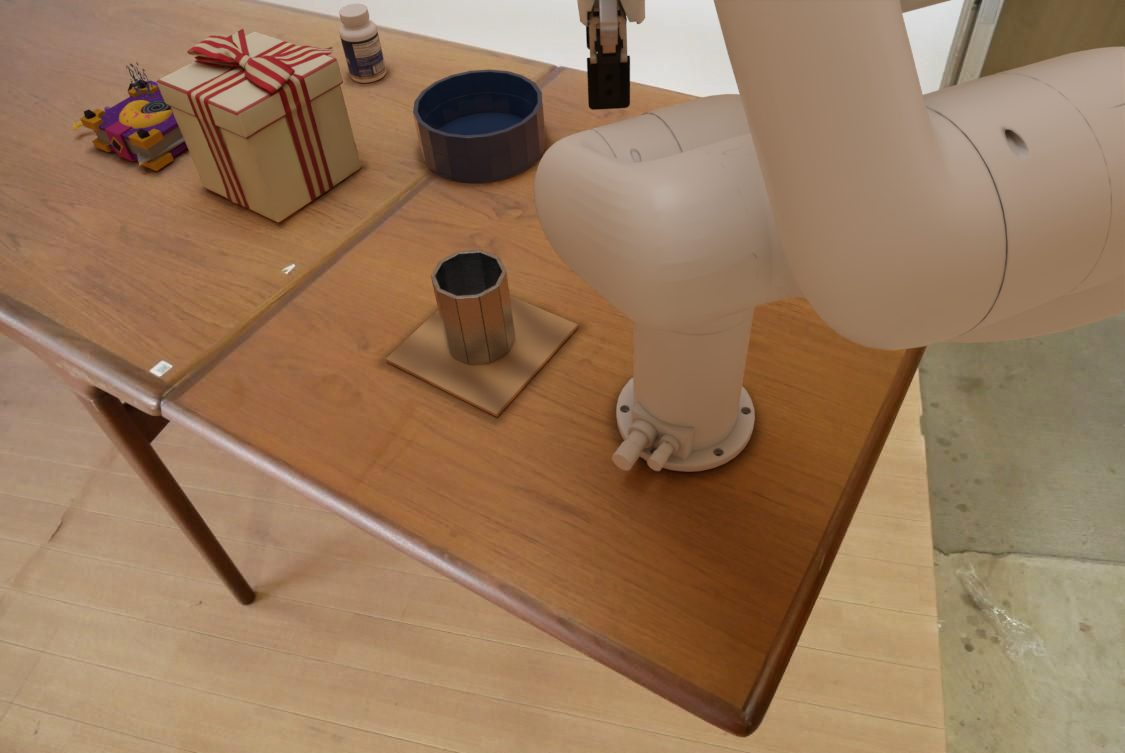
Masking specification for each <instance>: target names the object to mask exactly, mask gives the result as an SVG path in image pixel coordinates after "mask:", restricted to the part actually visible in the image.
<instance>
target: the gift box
mask: <svg viewBox="0 0 1125 753" xmlns="http://www.w3.org/2000/svg"><path fill="white" fill-rule="evenodd" d="M333 52H334V49H333V46H329V47H327V48H322V47H321V48H320V47H316V46H311V45H302V46H301V45H297V44H294V43H292V42H289V41H285V40H283V39H279V38H276V37H273V36H270V35H267V34H264V33H262V32H258V31H252V32H250V33H248V34H245V29H244V28H240V29H239V30H238V31H236V32H235V33H233V34H231V35H229V36H227V37H225V36H221V35H208V36H207V37H205V38H204V39H203V40H201V41H200V42H198V43H197V44H195V45H194V46H192V47H191V48H189V49H188V50H187V51H186V53H187V54H188V55H190V56H194V57H193V58H194V59H195V60H194V61H192V62H190V63H188V64H186V65H184V66H182V67H180V68H178V69H176V70H175V71H172V72H171V73H168V74H167V75H164V76H163V77H160V78H158V79H157V80H156V82H157V84H158V87H159V89H160V92H161V94H162V96H163V99H164V101H165V103H166V105H168V106H170V107H171V109H172V111H173V114H174V116H175V119H176V121H177V123H178V126H179V128H180V130H181V133H182V135H183V138H184V140H185V142H186V145H187V147H188V148H187V149H188V152H189V154H190V156H191V159H192V161H193V163H194V166H195V168H196V171H197V173H198V176H199V178H200V180H201V183H202V185H203V188H204V189H206V190H208V191H210V192H211V193H214V194H216V195H219V196H221V197H223V198H225V199H226V200H228V202H231V203H233V204H237V205H239V206H242V207H243V208H245V209H247V210H250V211H252V212H253V213H257V214H259V215H261V216H262V217H265V218H266V219H269V220H271V221H273V222H275V223H281V222H282V221H284V220H286V219H287V218H288V217H290V216H292V215H293V214H295V213H296V212H297V211H299V210H301V209H302V208H304V207H305V206H307V205H308V204H310V203H311V202H313V201H314V200H316V199H317V198H318V197H321V195H324V194H325V193H326V192H328V191H330V190H331V189H332V188H333V187H336V185H338V184H339V183H341V182H342V181H344V180H345V179H347V178H348V177H350V176H351V175H353V174H354V173H356V172H357V171H358V170H360V169H361V168H362V164H361V159H360V156H359V152H358V148H357V144H356V141H355V137H354V133H353V128H352V125H351V121H350V117H349V113H348V110H347V105H346V102H345V96H344V94H343V89H342V86H341V85H343V84H344V80H343V76H342V71H341V69H340V64H339V61H338V59H337V58H336V57H334V56H330V55H332V54H333Z"/></svg>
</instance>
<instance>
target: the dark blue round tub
mask: <svg viewBox="0 0 1125 753" xmlns="http://www.w3.org/2000/svg"><path fill="white" fill-rule="evenodd" d="M412 114H413V120H414V125H415V129H416V135H417V138H418V145H419V149H420V154H421V155H422V159H423V161H424V163H425V165H426V166H427V168H428V169H429V170H430V171H431V172H432V173H434V174H436V175H437V176H439V177H441V178H444V179H447V180H449V181H453V182H458V183H463V184H464V183H466V184H485V183H493V182H494V183H495V182H498V181H503V180H506V179H509V178H512V177H515V176H517V175H520V174H522V173H523V172H526V171H528V169H530V168H532V167H533V166H535V164H536V163H537V162H538V161H540V160H541V158H542V157H543V155H544V153H545V150H546V146H547V145H546V143H547V139H546V129H545V128H546V126H545V125H546V124H545V113H544V100H543V91H542V90H541V88H539V86H538V85H537V83H536V82H535V81H533V80H531V79H529V78H528V77H526V76H525V75H523V74H519V73H517V72H512V71H509V70H499V69H489V68H488V69H475V70H467V71H463V72H458V73H454V74H451V75H448V76H445V77H443V78H441V79H438V80H436V81H434V82H433V83H431V84H430V85H428V86H427V87H425V88H424V89H423V90H421V92H420V93H419V94H418V96H417V97H416V98H415V100H414V102H413V109H412Z"/></svg>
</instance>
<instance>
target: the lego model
mask: <svg viewBox="0 0 1125 753" xmlns="http://www.w3.org/2000/svg"><path fill="white" fill-rule="evenodd" d="M135 63H136V66H137V67H136V66H135V65H133V63H129V65H126V66H125V68H126V69H128V73H129V75H130V77H131V78H129V80H130V83H129V86H128V88H127V94H128V97H127V98H125V99H123V100H122V101H120V102H118V103H116V104H115V105H113V106H111V107H110V106H106V105H105V106H104V107H103V110H102V109H100V108H95V109H94V110H91V109H90V108H88V109H86V110H84V111H83V115H84V116H82V117H80V118H79V120H80V121H79V120H78V121H76V122H75V123H74V124H72V127H71V129H72V130H74V131H77V130H78V128H80V127H82V126H83V127H84V128H87V129H90V130H92V131H94V132H93V135H94V136H96V138H94V139H93V140H92V142H91V143H92V144H93V146H94V148H96V149H99V150H101V151H104V152H107V153H110V152H115V154H117V157H121V158H122V159H126V160H128V161H131V162H136V161H137V162H138V165H139V167H141V166H143V167H145V168H148V169H150V170H153V171H155V172H158V171H159V170H161V169H162V168H164V167H165V166H167V165H169V164H170V163H172V162H173V161H175V160H174V157H176V156H178V155H179V154H180V153H182V152H183V151H185V150H187V149H188V147H187V145H186V142H185V140H184V138H183V135H182V133H181V130H180V128H179V126H178V123H177V121H176V119H175V116H174V114H173V111H172V109H171V107H170V106H168V105H166V103H165V101H164V99H163V96H162V94H161V92H160V89H159V87H158V84H157V81H153V80H149V77H148V76H147V74H146V70H145V69H144V68H142V73H141V71H140V70H139V69H138V68H139V63H138V61H136V62H135ZM130 67H131V68H133V70H132V69H131V68H130ZM134 72H135V73H134ZM135 75H136V76H135ZM136 77H138V78H136Z"/></svg>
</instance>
